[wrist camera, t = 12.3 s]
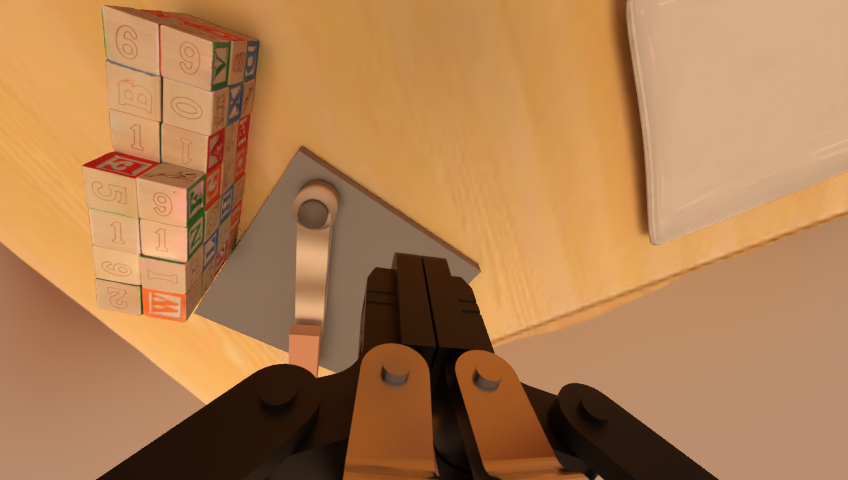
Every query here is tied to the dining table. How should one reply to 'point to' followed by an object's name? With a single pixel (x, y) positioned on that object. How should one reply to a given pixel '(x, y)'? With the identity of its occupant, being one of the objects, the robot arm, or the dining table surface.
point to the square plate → (736, 104)
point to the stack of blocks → (168, 160)
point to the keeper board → (349, 268)
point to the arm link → (313, 250)
